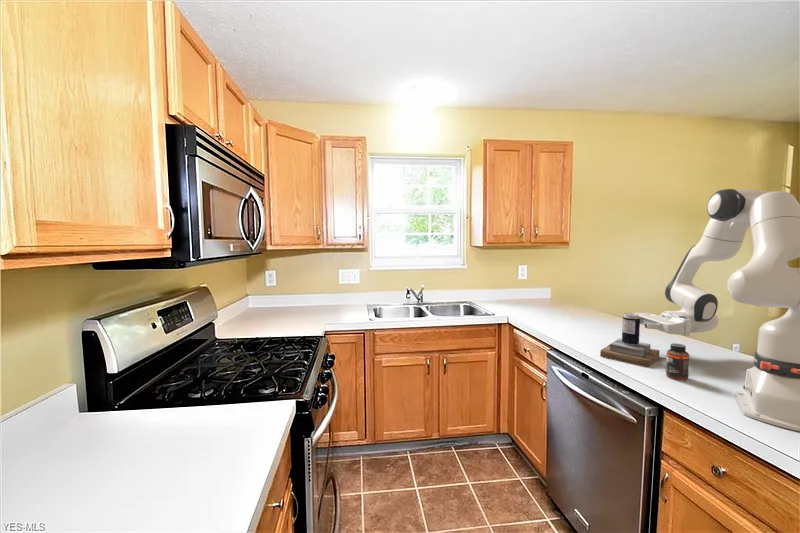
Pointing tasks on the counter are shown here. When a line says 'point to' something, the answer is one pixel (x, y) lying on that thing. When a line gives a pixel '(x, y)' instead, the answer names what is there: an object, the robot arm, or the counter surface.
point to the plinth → (630, 357)
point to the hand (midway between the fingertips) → (637, 322)
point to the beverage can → (630, 329)
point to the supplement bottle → (677, 362)
